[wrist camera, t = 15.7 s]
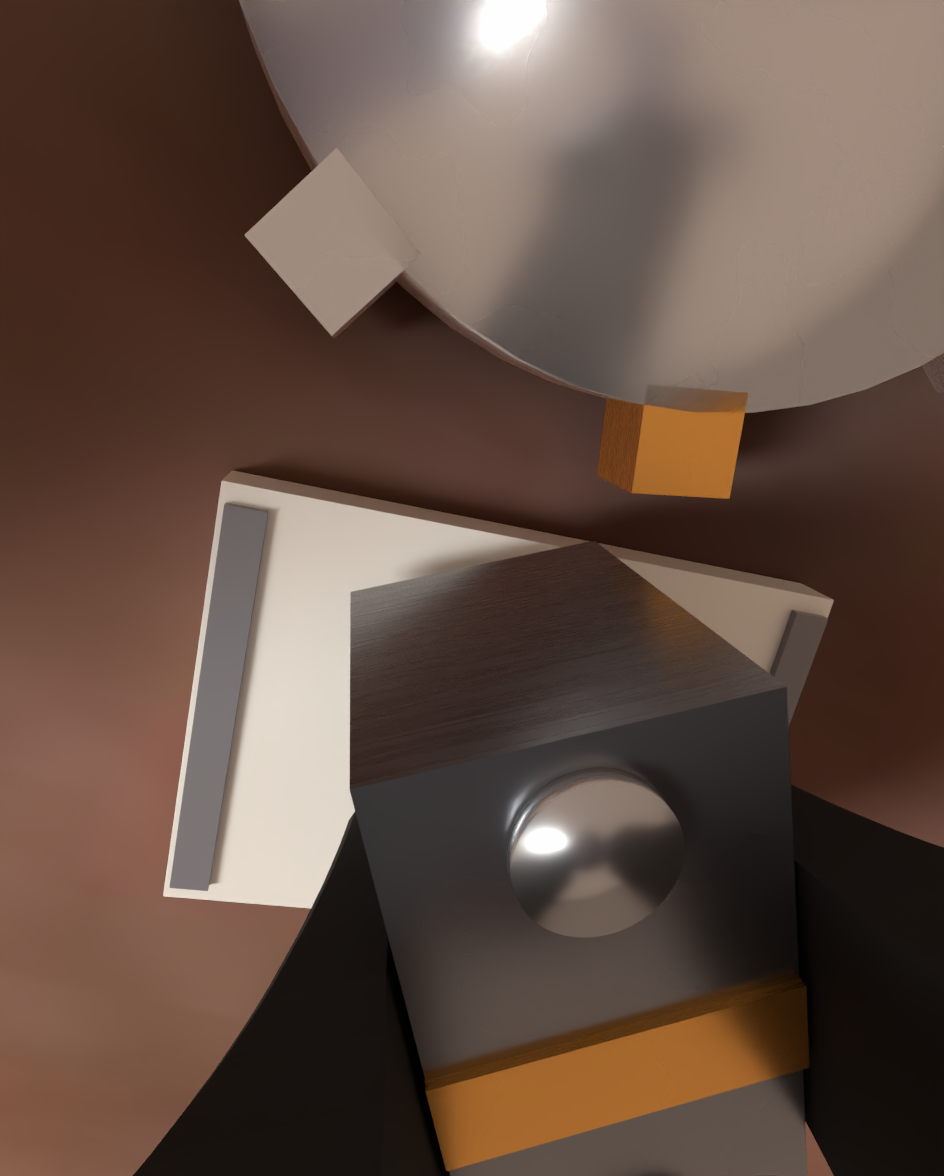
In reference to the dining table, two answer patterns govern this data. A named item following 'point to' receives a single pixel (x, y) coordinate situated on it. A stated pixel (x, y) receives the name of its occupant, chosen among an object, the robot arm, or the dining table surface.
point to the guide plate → (322, 667)
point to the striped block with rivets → (582, 870)
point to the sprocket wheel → (627, 197)
